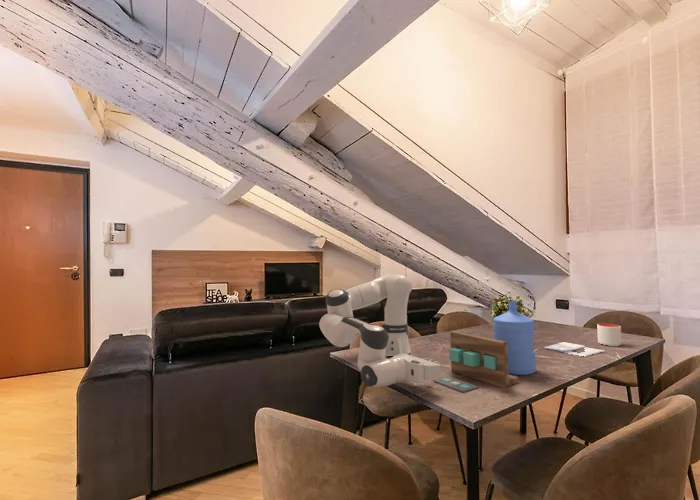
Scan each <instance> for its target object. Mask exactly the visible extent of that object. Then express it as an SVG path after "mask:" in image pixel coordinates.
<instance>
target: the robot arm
mask: <svg viewBox="0 0 700 500" xmlns="http://www.w3.org/2000/svg"><path fill="white" fill-rule="evenodd" d="M412 288H413V285H412V281H411V280H410V278H408V277H407V276H405V275H403V274H397V273H396V274H395V273H388V274H385V275H382V276H379V277H378V278H375V279H373V280H371V281H368V282H364V283H362V284H359V285H355V286H352V287H350V288H347V289H346V290H344V289H341V288H335V289H332V290H330V291H329V292H327V294H326V295H325V304H326V309H327V313H326V314H324V315H323V316H321V318H320V320H319V322H318V323H319V324H318V325H319V328H320V331H321V333H322V334H323V336H324V337H325V338H326V339H327V341H329V342H330V343H331V344H332V345H334V346H335V347H337V348H342V347H343V348H344V347H347V346H349V345H350V344H351V343H353V342H354V340H355V338H356V334H357V333H358V334H359V338H360V339H359V347H358V349H359V350H358V354H357V362H356V363H357V364H356V365H357V370H358V372H359V373H360V376H361V380H362V381H363V383H364V384H365V385H366V386H367V387H369V388H381V387H387V386H391V385H393V384H395V383H402V382H403V383H405V382H413V383H418V384H421V383H424V381H425V380H431V379H436V378H437V377H440V376H441V375H442V364H440V363H437V362H435V359H432V358H421V357H417V356H414V355H410V354H411V353H412V351H411V347H410V343H409V324H408V315H407V311H408V303H409V298H410V294H411V292H412V290H413V289H412ZM384 299H386V303H385V306H384V323H380V324H379V325H376V324H373V323H370V322H367V321H366V320H365V321H364V320H362V319H359V318H357V317H354V314H353V311H356V310H359V309H362V308H365V307H366V308H367V307H369V306H372V305H375V304H377V303H379V302H380V301H383V300H384ZM409 353H410V354H409ZM385 355H390V356H393V357H390V358H387V357H386V356H385Z"/></svg>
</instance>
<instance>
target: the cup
mask: <svg viewBox="0 0 700 500" xmlns="http://www.w3.org/2000/svg"><path fill="white" fill-rule="evenodd" d="M596 325H597V329H596V330H597V343H598V344H599V343H600V345H601V344H603V345H602V346H605V345H609V346H608V347H620V346H621V345H622V326H621V325H619V324H614V323H597V324H596ZM619 345H620V346H619Z"/></svg>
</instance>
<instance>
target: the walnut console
mask: <svg viewBox="0 0 700 500" xmlns="http://www.w3.org/2000/svg"><path fill="white" fill-rule="evenodd" d="M449 333H450V334H449V335H450V349H452V348H456V347H460V348H464V349H466V352H468V351H472V350H473V351H477V352H481V365H478V366H474V367H472V366H469V365H465V364H464V361H463V362H459V363H458V362H455V361H451V360H450V364H451V366H450V367H451V370H450V371H451V372H453V373H456V374H460V375H462V376H466V377H469V378H471V379H476V380H479V381H480V382H481V381H482V382H484V383H488V384H491V385H495V386H497V387H500V388H506V387H509V386H512V385H516V384H519V377H518V376H517V375H513V374H508V349H507V341H502V340H497V339H494V338H491V337H487V336H482V335H476V334H472V333H471V334H470V333H466V332H462V331H457V330H455V331H450V332H449ZM486 354H489V355H493V356H497V369H496V370H493V369H490V368H486V367H484V355H486Z"/></svg>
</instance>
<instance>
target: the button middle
mask: <svg viewBox="0 0 700 500" xmlns="http://www.w3.org/2000/svg"><path fill="white" fill-rule="evenodd" d="M463 358H464V364H465V365H469V366H472V367H474V366H478V365H481V352H477V351H473V350H472V351H468V352H464V353H463Z"/></svg>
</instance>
